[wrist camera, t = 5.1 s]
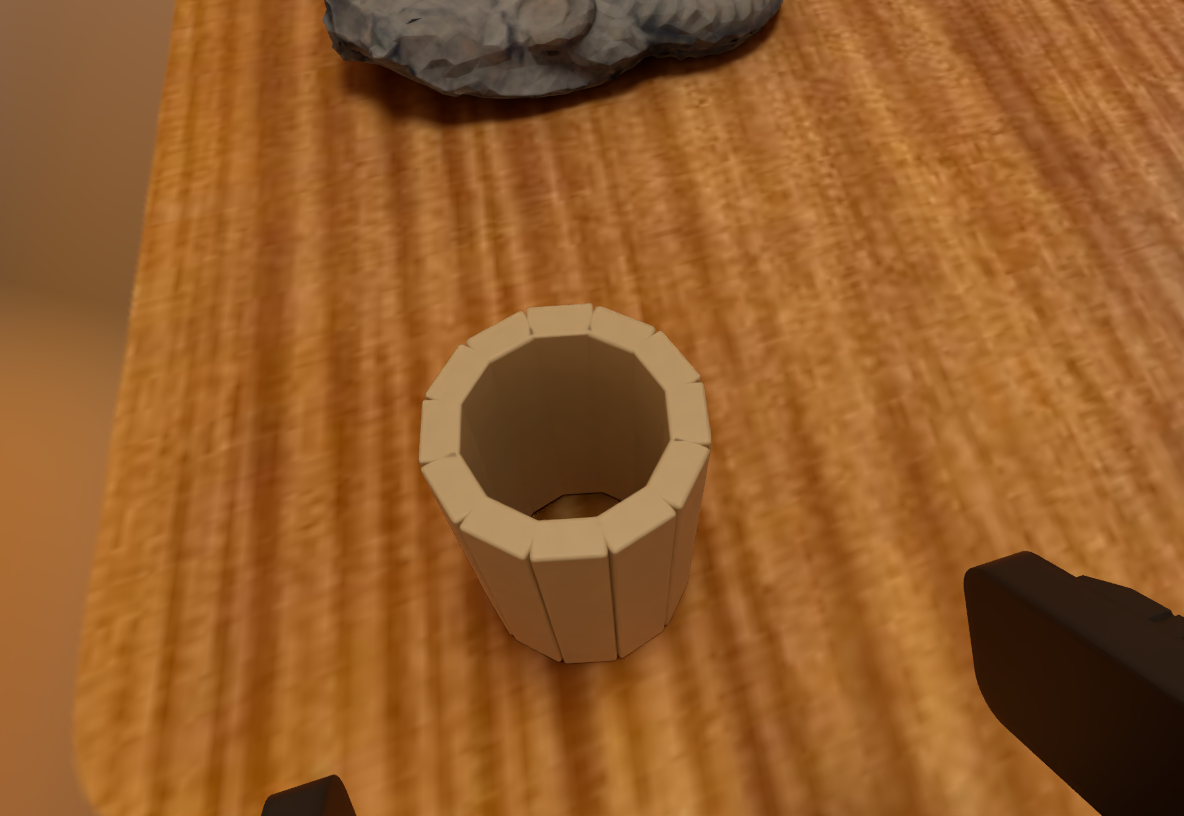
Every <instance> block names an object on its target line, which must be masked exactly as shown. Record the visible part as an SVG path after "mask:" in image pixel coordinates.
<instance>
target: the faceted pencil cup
mask: <svg viewBox="0 0 1184 816" xmlns="http://www.w3.org/2000/svg"><path fill="white" fill-rule="evenodd" d="M466 345H467V346H465V345H462V344H461V345H459V347H458V348H457V349H456V351H455V352H454V354H453V355H452V357H451V358H450V359H449V361H448V362H447V364H446V365H445V367H444V368H443V369H442V371H441V372H440V374H439V375H438V377H437V378H436V379H435V381H434V382H433V384H432V385H431V387H430V388H429V389H428V391H427V392H426V394H425V397H426V400H424V401H423V403H422V414H421V430H420V446H419V463H420V465H421V467H422V468H421V471H422V474H423V476H424V478H425V480H426V481H427V483H428V485H429V487H430V489H431V491H432V493H433V495H434V497H435V498H436V500H437V502H438V504H439V506H440V508H441V510H442V512H443V514H444V515H445V517H446V519H447V521H448V523H449V525H450V527H451V529H452V530H453V532H454V534H455V536H456V538H457V540H458V542H459V544H460V546H461V547H462V549H463V551H464V553H465V555H466V557H467V559H468V561H469V563H470V564H471V566H472V568H473V570H474V572H475V574H476V576H477V578H478V580H479V581H480V583H481V585H482V587H483V589H484V591H485V593H486V595H487V596H488V598H489V600H490V601H491V603H492V605H493V607H494V608H495V610H496V612H497V613H498V615H499V617H500V618H501V620H502V622H503V623H504V625H505V627H506V628H507V630H508V632H509V633H510V634H511V635H514V637H515V639H516V640H517V641H519V642H521V643H523V644H525V645H527V646H529V647H531V648H532V649H534V650H536V651H538V652H540V653H542V654H544V655H546V656H548V657H550V658H552V659H554V660H556V661H558V662H560V661H561V660H562V659H563V660H564V662H565V663H583V662H599V661H614V660H616V659H617V654H618V655H619V657H621V658H624V657H625V656H627V655H628V654H630V653H631V652H633V651H634V650H635V649H637V648H638V647H640V646H641V645H643V644H644V643H646V642H647V641H649V640H650V639H652V638H653V637H655V636H656V635H658V634H659V633H661V632H662V631H663V630H664V625H668V624H669V622H670V620H671V618H672V616H673V614H674V611H675V609H676V607H677V605H678V603H679V601H680V599H681V596H682V594H683V592H684V590H685V588H686V586H687V584H688V578H689V572H690V566H691V560H692V555H693V549H694V543H695V537H696V531H697V525H698V520H699V514H700V508H701V502H702V496H703V491H704V485H705V479H706V473H707V467H708V461H709V456H710V450H711V444H712V438H711V431H710V423H709V416H708V409H707V402H706V395H705V387H704V385H703V383H701V382H700V379H701V377H700V375H699V374H698V373H697V372H696V370H695V369H694V368H693V367H692V366H691V365H690V363H689V362H688V361H687V360H686V359H685V358H684V356H683V355H682V354H681V353H680V352H679V351H678V349H677V348H676V347H675V346H674V345H673V344H672V342H671V341H670V340H669V339H668V338H667V337H666V335H665V334H664V333H663V332H662V331H659V332H657V333H656V329H655V328H654V327H653V326H651V325H648V324H645V323H643V322H640V321H638V320H635V319H632V318H630V317H627V316H625V315H622V314H619V313H617V312H614V311H612V310H609V309H606V308H604V307H601V306H598V307H596V309H595V310H594V312H593V305H592V304H575V305H561V306H546V307H532V308H527V316H526V315H525V314H524V313H523V312H517V313H516V314H514V315H512V316H510V317H508V318H506V319H504V320H503V321H501V322H499V323H497V324H495V325H493V326H491V327H490V328H488V329H486V330H484V331H482V332H480V333H478V334H477V335H475V336H473V337H471V338H469V339H468V340H467V341H466ZM595 492H603V493H606V494H608V495H610V496H612V497H614V498H617V499H619V500H621V502H620V503H618V504H616V505H615V506H613V507H612V508H610V509H608V510H607V511H605V512H604V513H602V514H600V515H599V516H597V517H587V518H571V519H556V520H540V521H538V520H536V519H534V518H532V517H531V515H532V514H533V512H535V511H537V510H538V509H540V508H542V507H543V506H545V505H547V504H548V503H550V502H552V501H553V500H555V499H557V498H558V497H560V496H561V495H565V494H580V493H595Z"/></svg>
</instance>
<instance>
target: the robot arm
mask: <svg viewBox="0 0 1184 816" xmlns="http://www.w3.org/2000/svg"><path fill="white" fill-rule="evenodd" d="M964 593H965V601H966V608H967V616H968V623H969V631H970V638H971V646H972V653H973V661H974V668H975V674H976V679H977V682H978V685H979V688H980V690H981V693H982V695H983V697H984V699H985V701H986V703H987V705H988V706H989V708H990V709H991V711H992V712H993V714H994V715H995V716H996V718H997V719H998V720H999V721H1000V722H1001V723H1002V724H1003V725H1004V726H1005V727H1006V728H1007V729H1008V730H1009V731H1010V732H1011V733H1012V734H1013V735H1015V736H1016V737H1017V738H1018V739H1019V740H1020V741H1021V742H1022V743H1023V744H1024V745H1025V746H1027V747H1028V748H1029V749H1030V750H1031V751H1032V752H1033V753H1034V754H1035V755H1036V756H1037V757H1039V758H1040V759H1041V760H1042V761H1043V762H1044V763H1045V764H1046V765H1047V766H1048V767H1049V768H1051V769H1052V770H1053V771H1054V772H1055V773H1056V774H1057V775H1058V776H1059V777H1060V778H1061V779H1063V780H1064V781H1065V782H1066V783H1067V784H1068V785H1069V786H1070V787H1071V788H1072V789H1073V790H1075V791H1076V792H1077V793H1078V794H1079V795H1080V796H1081V797H1082V798H1083V799H1084V800H1085V801H1087V802H1088V803H1089V804H1090V805H1091V806H1092V807H1093V808H1094V809H1095V810H1096V811H1097V812H1099V813H1100V814H1101V815H1102V816H1184V617H1182V616H1180V615H1177V616H1174V615H1173V614H1172V612H1171V610H1170V609H1168V608H1166V607H1164V606H1162V605H1160V604H1159V603H1157V602H1155V601H1153V600H1151V599H1149V598H1148V597H1146V596H1144V595H1142V594H1140V593H1138V592H1137V591H1135V590H1133V589H1131V588H1127V587H1124V586H1120V585H1117V584H1113V583H1109V582H1106V581H1102V580H1099V579H1095V578H1091V577H1088V576H1084V575H1082V576H1079V577H1075V576H1073V575H1071V574H1069V573H1068V572H1066V571H1064V570H1063V569H1061V568H1059V567H1057V566H1056V565H1054V564H1052V563H1050V562H1049V561H1047V560H1045V559H1043V558H1042V557H1040V556H1038V555H1037V554H1034V553H1032V552H1029V551H1022V552H1019V553H1016V554H1013V555H1010V556H1007V557H1004V558H1000V559H997V560H994V561H991V562H988V563H985V564H982V565H979V566H976V567H973V568H970V569H969V570H968V571H967V572H966V574H965V577H964ZM261 816H356V814H355V811H354V809H353V806H352V804H351V801H350V798H349V796H348V793H347V791H346V789H345V786H344V784H343V783H342V781H341V780H340V778H339V777H338V776H337V775H331V776H328V777H325V778H322V779H318V780H315V781H312V782H309V783H306V784H303V785H300V786H297V787H294V788H291V789H288V790H285V791H282V792H279V793H276V794H273V795H270V796H269V797H268V798H267V800H266V802H265V804H264V807H263V811H262V814H261Z"/></svg>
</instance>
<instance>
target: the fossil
mask: <svg viewBox="0 0 1184 816" xmlns="http://www.w3.org/2000/svg"><path fill="white" fill-rule="evenodd" d="M324 1H325V5H326V9H327V10H326V13H325V15H324V18H323V22H324V24H325V25H326V28H327V30H328V34H329V36H330V38H331V40H332V42H333V44H332V48H333V49H334V50H335V51H336V52H337V53H338V54H339V55H340V56H341V58H342V59H343V60H345V61H357V62H367V63H371V64H377V65H381V66H383V67H385V68H389V69H391V70H393V71H395V72H397V73H398V74H400V75H402V76H404V77H406V78H409V79H411V80H413V81H415V82H417V83H420V84H423V85H426V86H428V87H430V88H431V89H433V90H435V91H437V92H439V93H441V94H444V95H449V96H454V97H457V96H459V95H462V94H467V95H473V96H477V97H483V98H496V99H509V98H540V97H547V96H554V95H563V94H567V93H570V92H573V91H578V90H582V89H586V88H591V87H595V86H598V85H601V84H603V83H604V82H606V81H607V80H609V81H612V80H615V79H616V78H617V77H618V76H619V75H620V74H621V73H623V72H625V71H627V70H629V69H631V68H633V67H634V66H636V65H637V64H638V63H639V62H640V61H641V60H642V59H643V58H646V57H651V56H652V55H653V56H655V57H658V58H665V57H669V56H671V57H674V58H677V59H679V60H683V59H685V58H687V57H694V58H698V59H699V58H702V57H704V56H707V55H709V54H714V55H718V54H721V53H723V52H726V51H730V50H733V49H735V48H736V47H738V46H739V45H741V44H742V43H744V42H745V41H746V40H748V39H749V38H750V37H751V36H752V35H753V34H755V33H758V32H760V30H761V29H762V28H763V27H764V25H765V24H766V23H767V22H768V21H769V20H771V18H772V17H773V15H774V14H775V13H776V12H777V11H778V10H779V8H780V7H781V4H782V2H783V0H324Z"/></svg>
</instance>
